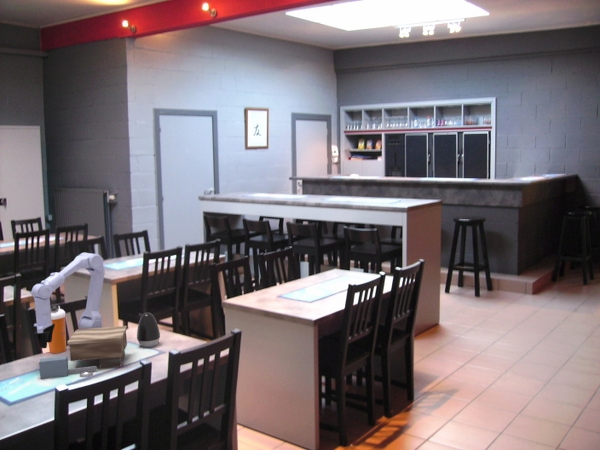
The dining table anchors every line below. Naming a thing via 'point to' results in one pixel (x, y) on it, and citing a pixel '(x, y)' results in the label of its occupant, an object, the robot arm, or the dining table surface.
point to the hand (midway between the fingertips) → (46, 345)
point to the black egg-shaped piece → (147, 330)
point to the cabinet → (99, 345)
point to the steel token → (86, 373)
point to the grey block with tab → (58, 368)
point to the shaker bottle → (58, 330)
